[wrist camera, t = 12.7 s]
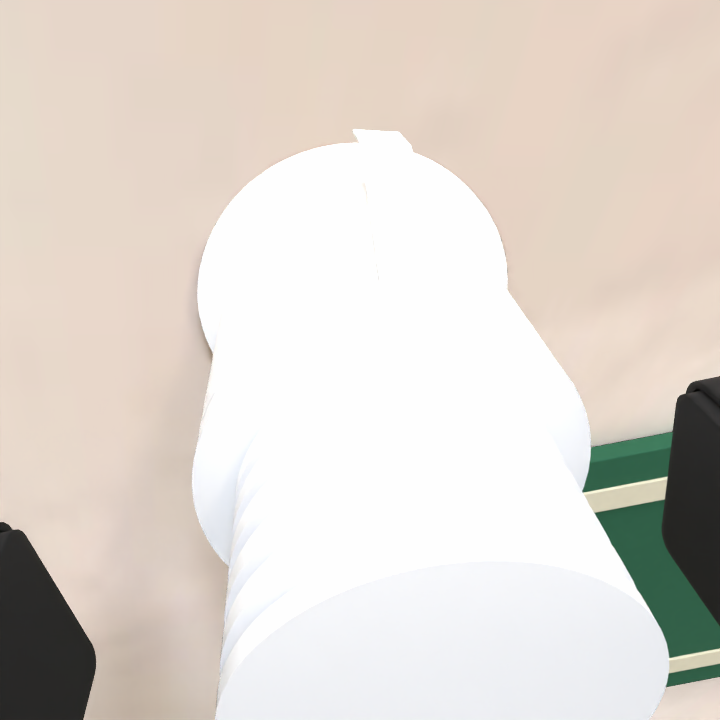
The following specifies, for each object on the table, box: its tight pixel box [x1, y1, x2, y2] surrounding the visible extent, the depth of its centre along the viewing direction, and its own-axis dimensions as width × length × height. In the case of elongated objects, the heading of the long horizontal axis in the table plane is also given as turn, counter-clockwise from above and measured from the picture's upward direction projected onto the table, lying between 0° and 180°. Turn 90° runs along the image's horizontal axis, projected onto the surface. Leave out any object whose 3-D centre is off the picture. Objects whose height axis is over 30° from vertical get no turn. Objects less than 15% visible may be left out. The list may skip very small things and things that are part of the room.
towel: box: [582, 432, 720, 687], centre depth 21 cm, size 18×12×1 cm, turn 99°
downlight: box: [192, 129, 669, 720], centre depth 11 cm, size 8×7×10 cm
